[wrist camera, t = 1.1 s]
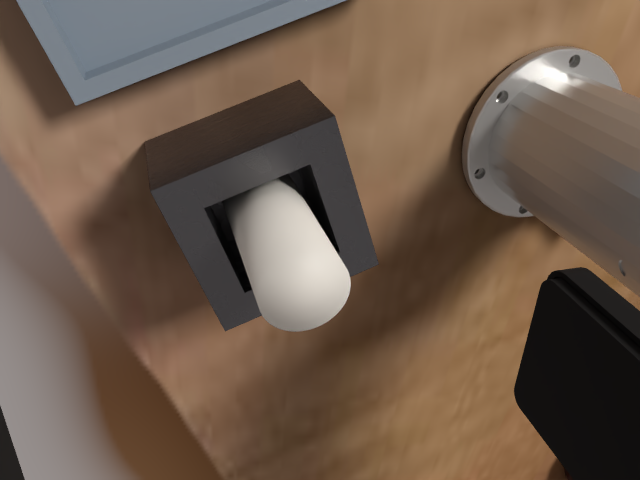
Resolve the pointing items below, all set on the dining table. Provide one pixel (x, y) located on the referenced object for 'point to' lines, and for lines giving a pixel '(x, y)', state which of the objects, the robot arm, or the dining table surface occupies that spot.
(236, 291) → the socket block
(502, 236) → the dining table surface
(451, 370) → the dining table surface
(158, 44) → the tray
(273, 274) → the dowel pin
